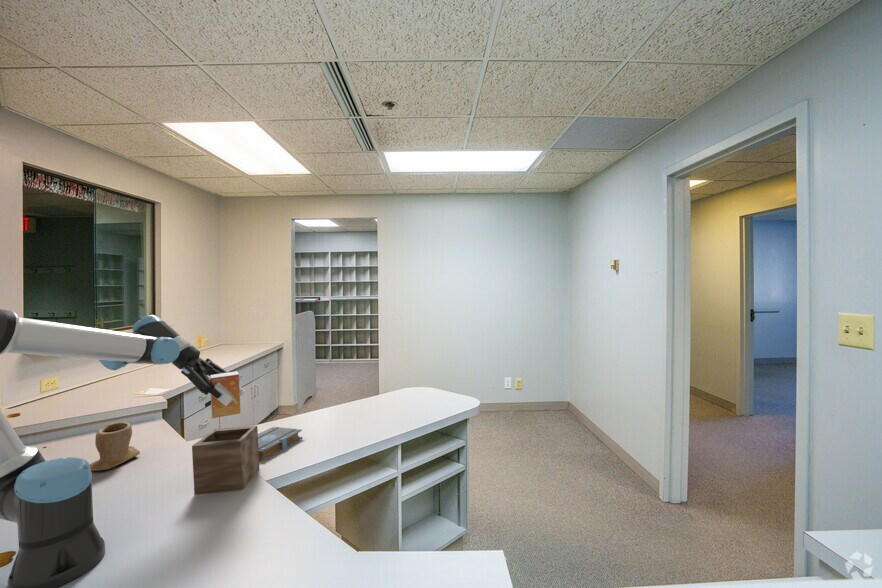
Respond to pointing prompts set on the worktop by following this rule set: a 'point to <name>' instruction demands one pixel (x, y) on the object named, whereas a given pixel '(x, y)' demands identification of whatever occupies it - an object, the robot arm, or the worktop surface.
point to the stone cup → (113, 446)
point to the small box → (231, 388)
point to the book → (276, 441)
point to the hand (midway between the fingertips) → (236, 398)
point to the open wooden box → (225, 459)
